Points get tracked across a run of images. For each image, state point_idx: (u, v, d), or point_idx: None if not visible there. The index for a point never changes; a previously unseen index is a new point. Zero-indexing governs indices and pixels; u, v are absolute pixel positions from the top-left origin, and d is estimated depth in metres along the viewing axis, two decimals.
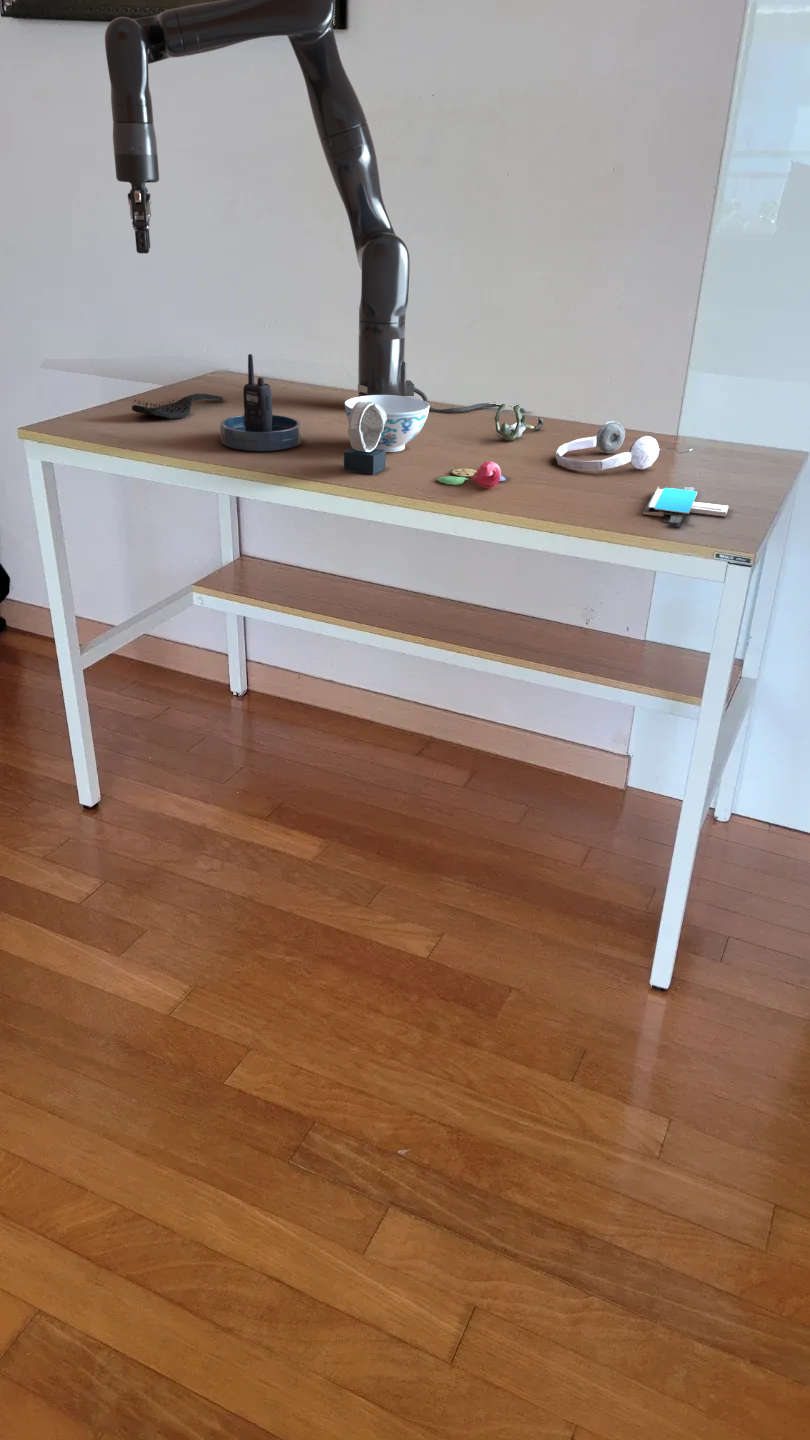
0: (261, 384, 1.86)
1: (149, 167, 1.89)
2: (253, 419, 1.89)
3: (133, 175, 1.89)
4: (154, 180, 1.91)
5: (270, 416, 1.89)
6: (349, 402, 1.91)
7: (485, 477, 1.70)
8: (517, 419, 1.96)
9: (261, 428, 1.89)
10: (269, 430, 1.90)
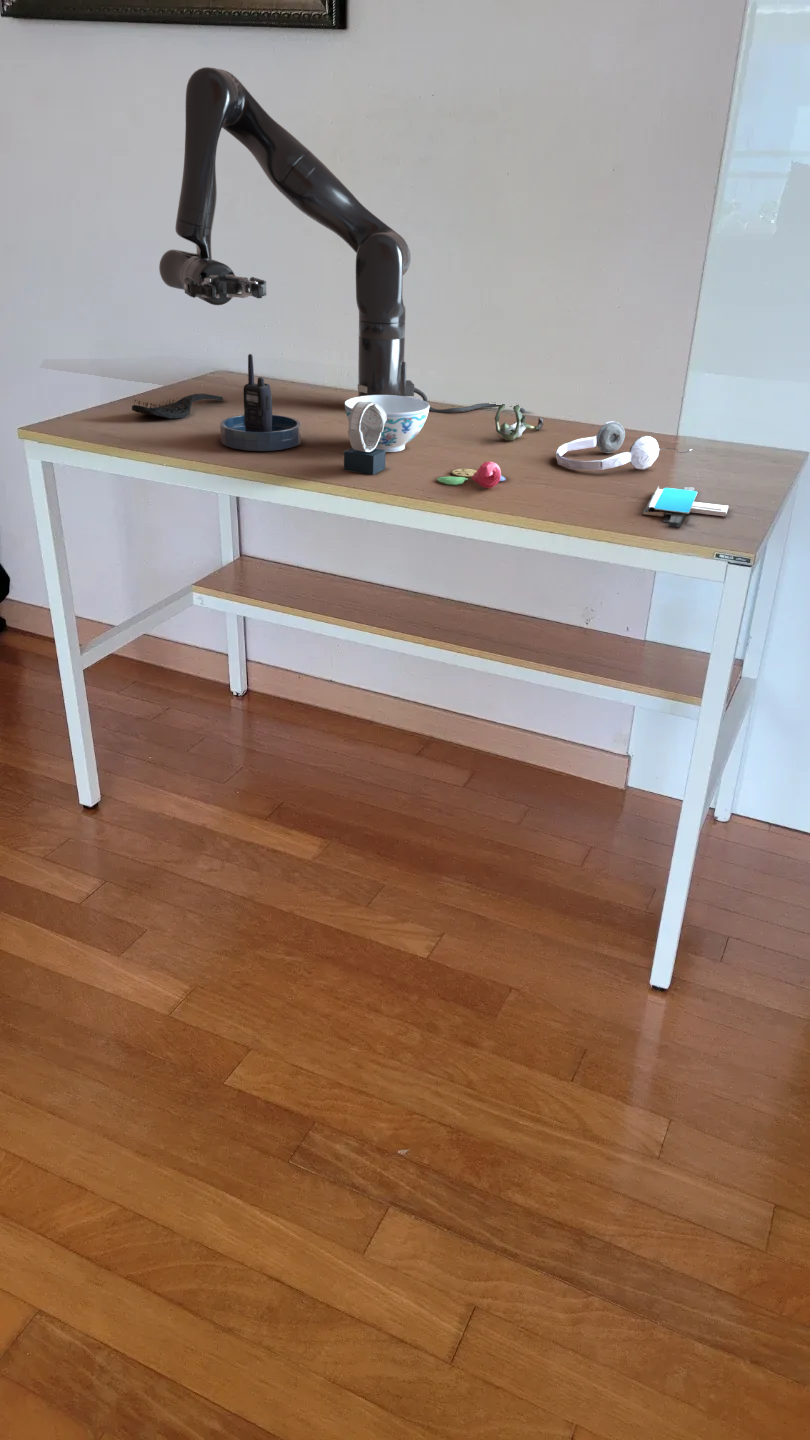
0: (261, 384, 1.86)
1: (198, 269, 1.99)
2: (253, 419, 1.89)
3: None
4: (205, 267, 1.97)
5: (270, 416, 1.89)
6: (349, 402, 1.91)
7: (485, 477, 1.70)
8: (517, 419, 1.96)
9: (261, 428, 1.89)
10: (269, 430, 1.90)
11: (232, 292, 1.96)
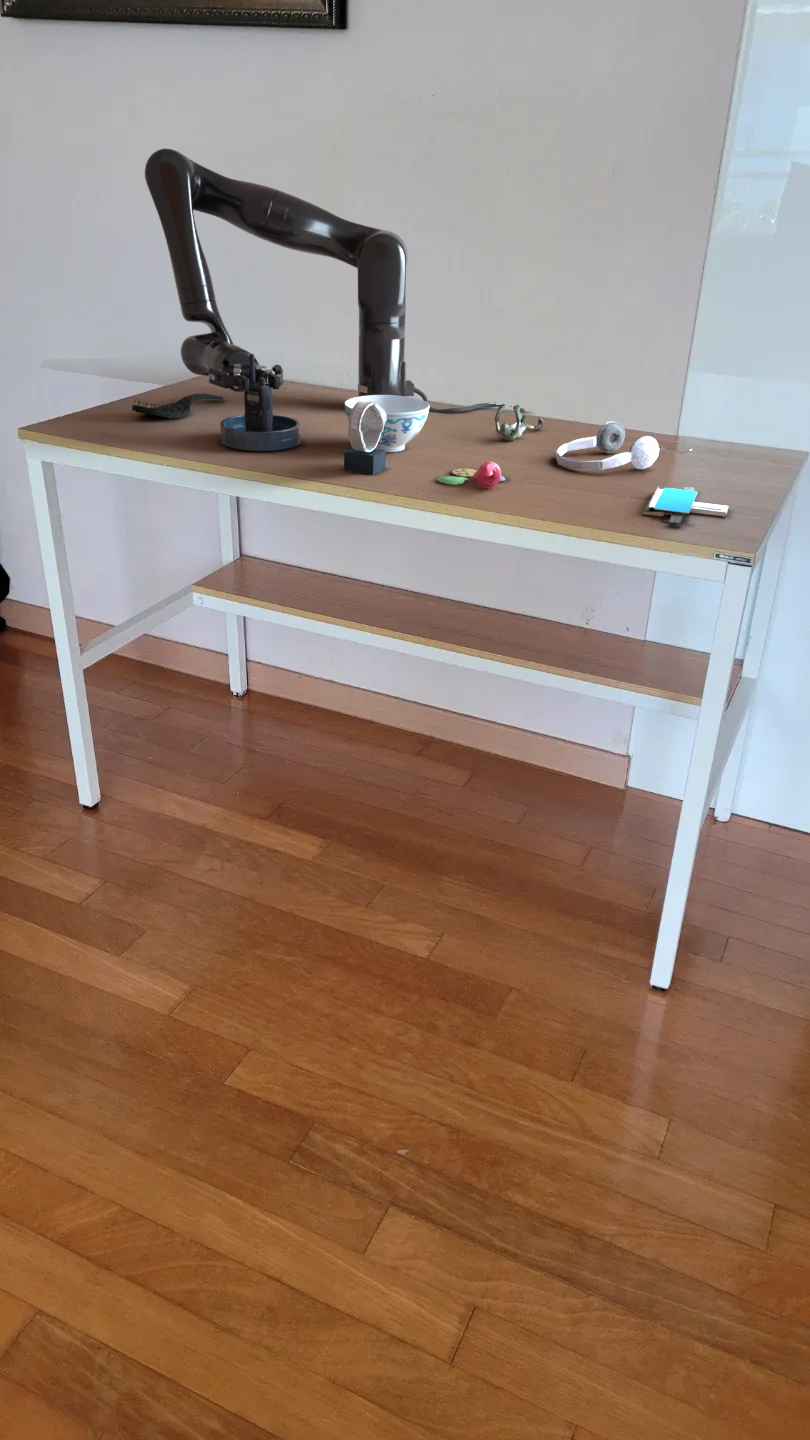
0: (262, 384, 1.86)
1: (220, 357, 1.96)
2: (253, 419, 1.89)
3: None
4: (228, 355, 1.94)
5: (271, 416, 1.89)
6: (349, 402, 1.91)
7: (485, 477, 1.70)
8: (517, 419, 1.96)
9: (261, 427, 1.89)
10: (269, 430, 1.90)
11: (255, 381, 1.93)
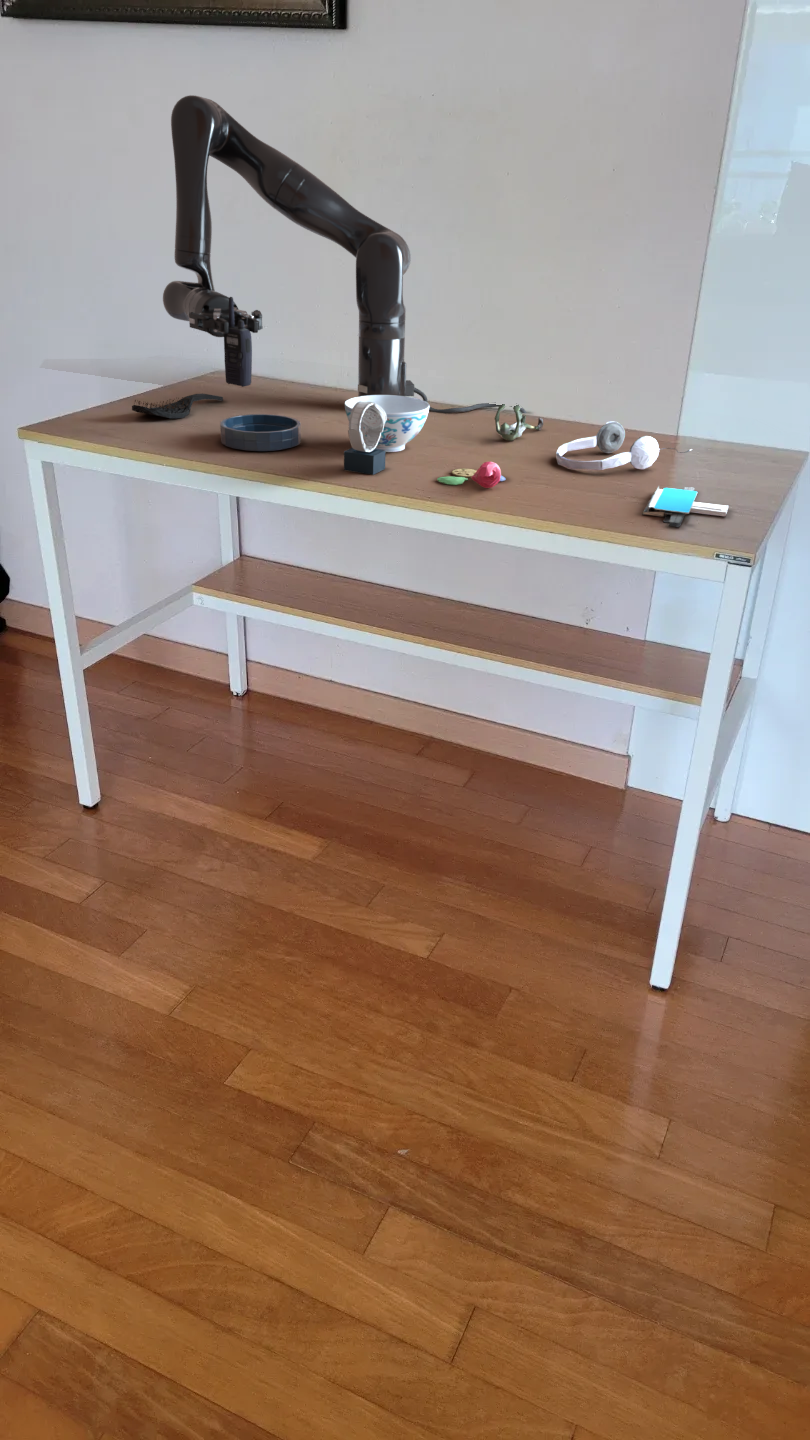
0: (241, 327, 1.90)
1: (201, 302, 1.99)
2: (233, 362, 1.93)
3: None
4: (208, 299, 1.98)
5: (250, 359, 1.93)
6: (349, 402, 1.91)
7: (485, 477, 1.70)
8: (517, 419, 1.96)
9: (240, 370, 1.93)
10: (249, 373, 1.94)
11: (235, 325, 1.96)
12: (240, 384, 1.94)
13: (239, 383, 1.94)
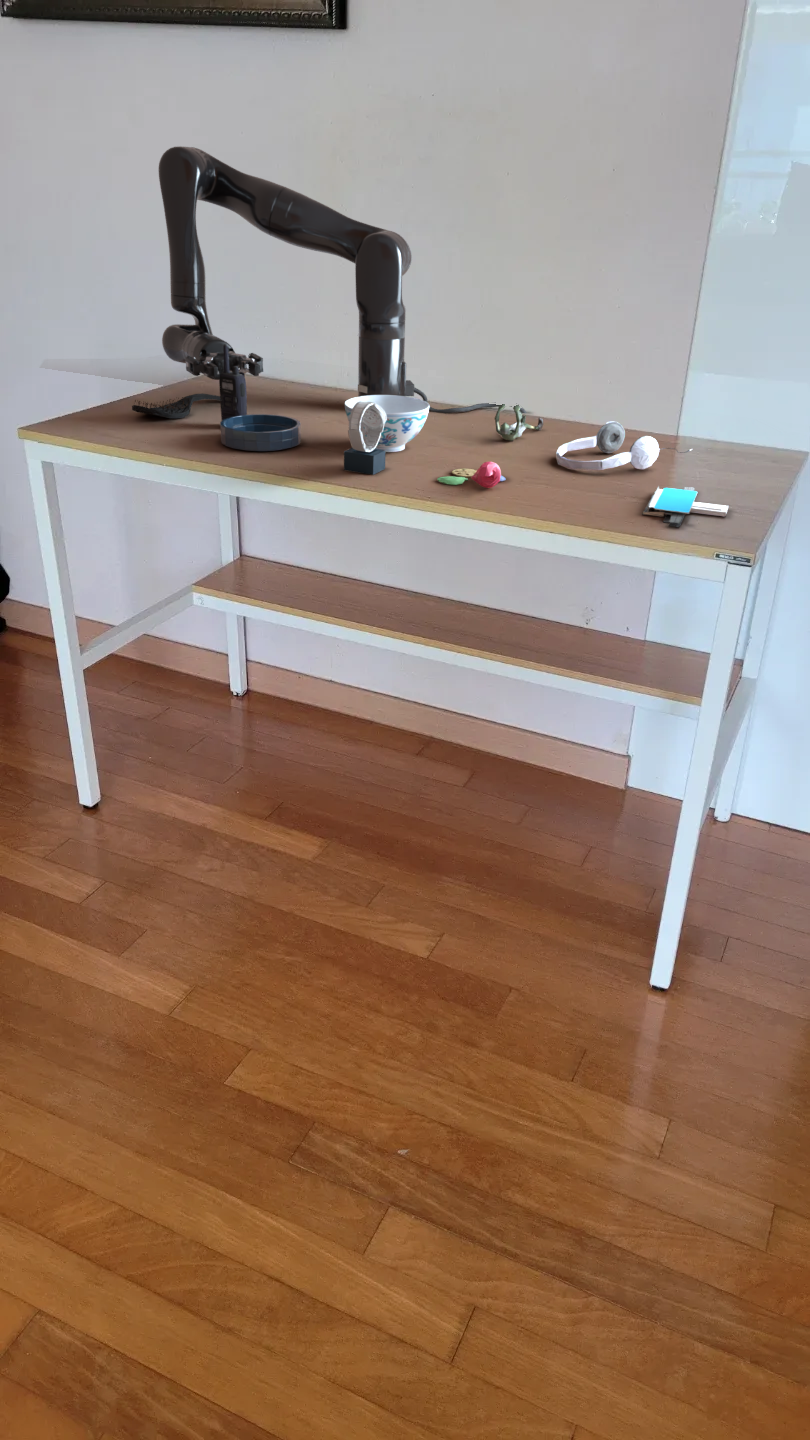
0: (236, 372, 1.96)
1: (198, 346, 2.06)
2: (228, 406, 1.99)
3: None
4: (205, 344, 2.04)
5: (245, 403, 1.99)
6: (349, 402, 1.91)
7: (485, 477, 1.70)
8: (517, 419, 1.96)
9: (236, 414, 1.99)
10: None
11: (231, 369, 2.03)
12: None
13: None
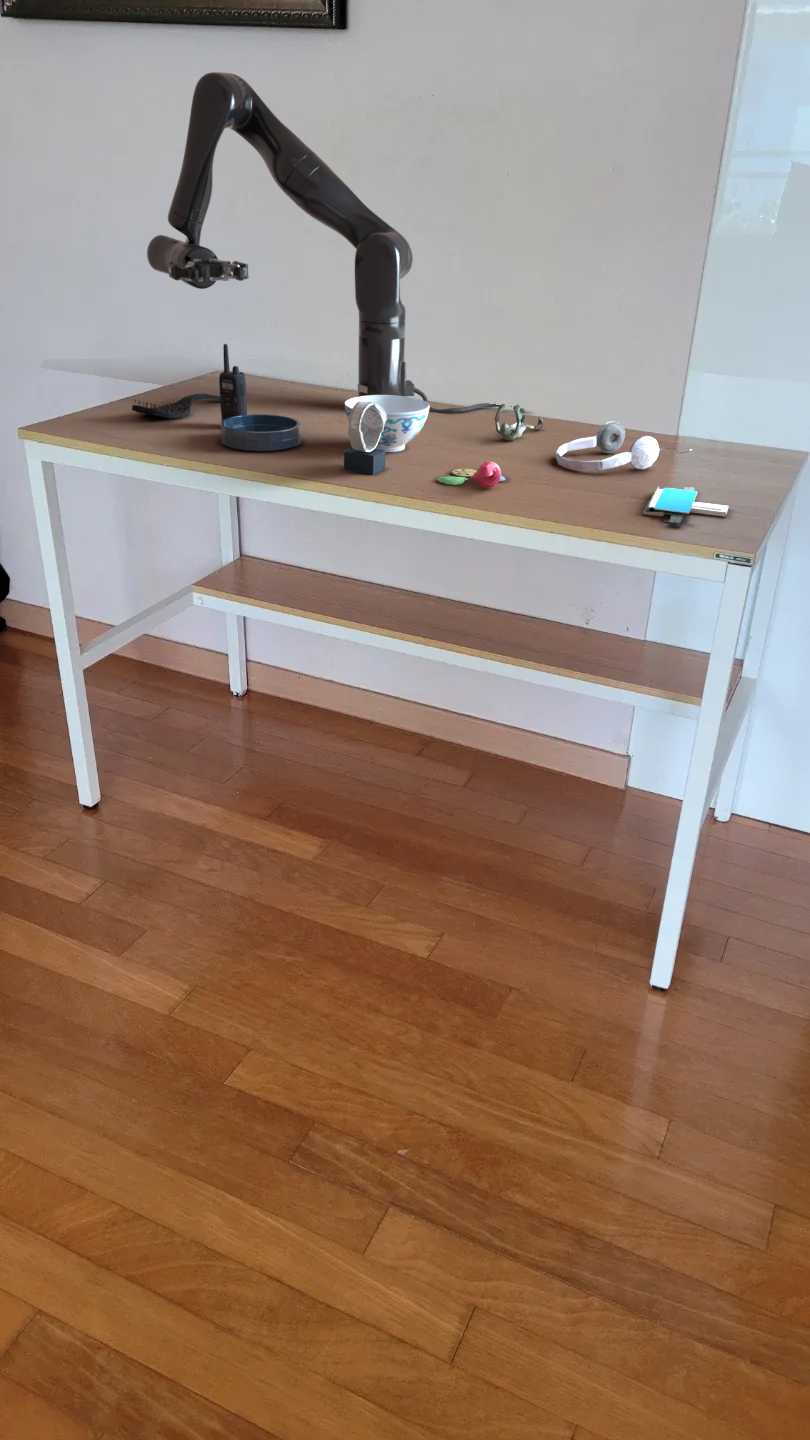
0: (236, 372, 1.96)
1: (182, 254, 2.05)
2: (228, 406, 1.99)
3: None
4: (189, 251, 2.03)
5: (245, 403, 1.99)
6: (349, 402, 1.91)
7: (485, 477, 1.70)
8: (517, 419, 1.96)
9: (236, 414, 1.99)
10: None
11: (215, 275, 2.02)
12: None
13: None
